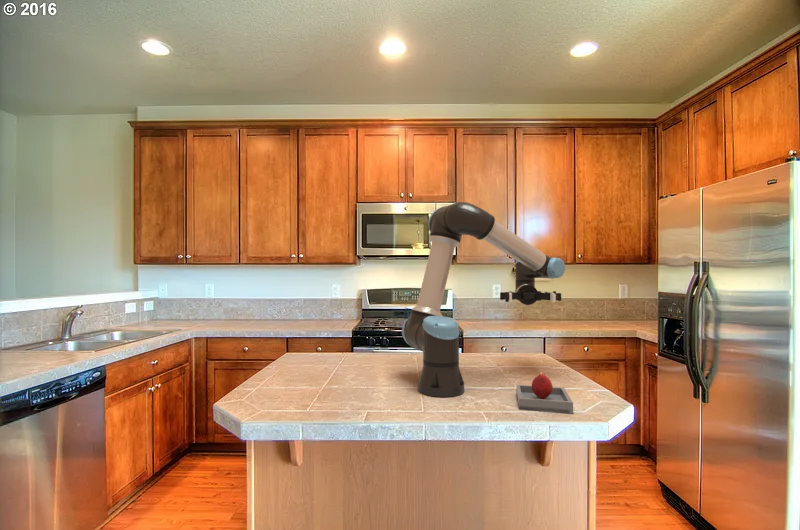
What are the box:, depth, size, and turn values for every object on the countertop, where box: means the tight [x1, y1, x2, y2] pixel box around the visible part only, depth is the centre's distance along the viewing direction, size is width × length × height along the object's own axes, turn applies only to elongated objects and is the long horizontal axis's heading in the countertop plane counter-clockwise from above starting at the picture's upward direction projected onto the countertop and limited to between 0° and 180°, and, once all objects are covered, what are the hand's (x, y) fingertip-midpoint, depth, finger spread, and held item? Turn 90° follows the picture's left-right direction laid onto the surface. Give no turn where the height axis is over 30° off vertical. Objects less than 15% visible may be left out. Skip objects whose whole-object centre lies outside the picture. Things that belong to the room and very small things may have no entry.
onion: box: [531, 371, 554, 399], centre depth 112 cm, size 6×6×8 cm
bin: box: [515, 384, 574, 415], centre depth 112 cm, size 14×14×3 cm
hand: (532, 297), depth 125 cm, fingers open, 13 cm apart
